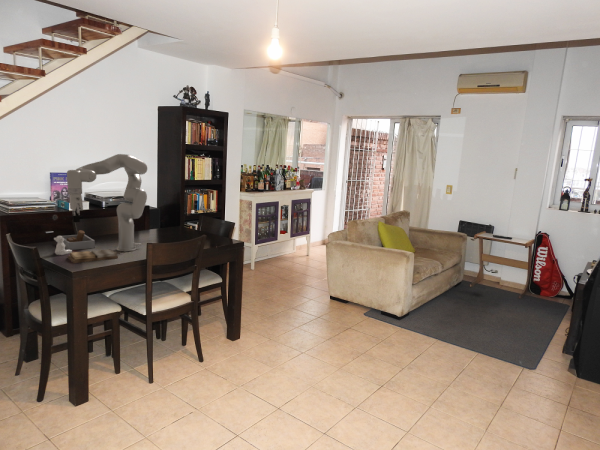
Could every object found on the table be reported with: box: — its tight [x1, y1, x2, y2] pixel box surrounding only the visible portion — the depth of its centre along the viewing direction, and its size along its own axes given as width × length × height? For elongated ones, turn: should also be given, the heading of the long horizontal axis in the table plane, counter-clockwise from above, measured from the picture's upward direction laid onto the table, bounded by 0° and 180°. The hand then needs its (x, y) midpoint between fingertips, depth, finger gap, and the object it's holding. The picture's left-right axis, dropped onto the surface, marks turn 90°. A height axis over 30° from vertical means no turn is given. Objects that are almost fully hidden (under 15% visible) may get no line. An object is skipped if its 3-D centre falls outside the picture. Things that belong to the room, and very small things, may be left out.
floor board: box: [67, 248, 119, 264], centre depth 264 cm, size 25×14×3 cm, turn 132°
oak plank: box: [69, 250, 95, 260], centre depth 260 cm, size 11×12×2 cm
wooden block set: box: [67, 229, 86, 242], centre depth 293 cm, size 18×9×10 cm, turn 152°
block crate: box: [61, 234, 96, 251], centre depth 293 cm, size 16×24×5 cm, turn 41°
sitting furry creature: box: [53, 235, 73, 256], centre depth 268 cm, size 10×9×12 cm
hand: (76, 221), depth 255 cm, fingers closed
